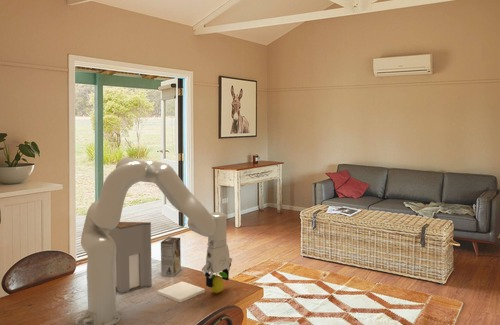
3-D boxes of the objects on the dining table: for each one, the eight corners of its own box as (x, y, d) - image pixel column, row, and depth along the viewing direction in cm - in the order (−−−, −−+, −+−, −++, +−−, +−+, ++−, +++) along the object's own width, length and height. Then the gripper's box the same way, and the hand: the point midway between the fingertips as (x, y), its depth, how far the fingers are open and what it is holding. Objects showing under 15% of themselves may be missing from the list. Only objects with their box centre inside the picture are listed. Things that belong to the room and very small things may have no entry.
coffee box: (168, 269, 208) (168, 236, 207) (181, 270, 207) (180, 237, 205) (160, 275, 199) (160, 241, 198) (174, 277, 198) (173, 242, 197)
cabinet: (151, 285, 187) (150, 222, 185) (145, 294, 178) (144, 228, 175) (103, 284, 188) (102, 221, 185) (95, 293, 178) (93, 227, 176)
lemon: (227, 292, 181) (227, 269, 180) (220, 297, 176) (220, 273, 175) (213, 289, 184) (213, 266, 183) (206, 294, 179) (206, 270, 178)
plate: (180, 302, 170) (180, 299, 170) (157, 293, 179) (156, 290, 179) (205, 291, 181) (205, 289, 181) (182, 283, 190) (182, 281, 190)
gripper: (209, 249, 169) (209, 291, 170) (237, 239, 182) (237, 279, 184) (195, 245, 173) (196, 287, 175) (224, 236, 187) (224, 275, 188)
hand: (217, 283), depth 179 cm, fingers open, 9 cm apart
